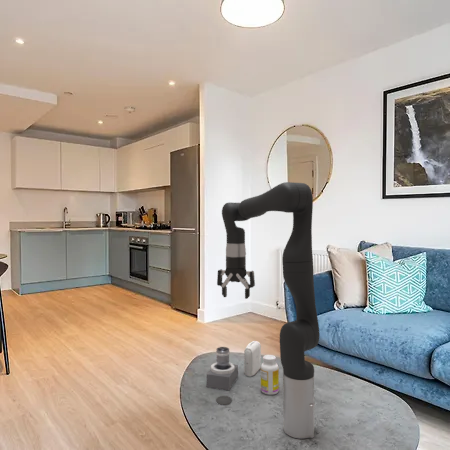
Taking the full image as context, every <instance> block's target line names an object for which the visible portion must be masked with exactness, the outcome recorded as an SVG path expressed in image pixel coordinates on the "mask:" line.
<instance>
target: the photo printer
mask: <svg viewBox="0 0 450 450" xmlns="http://www.w3.org/2000/svg"><path fill="white" fill-rule="evenodd" d="M261 347H262V346H261V343H260V342H259V341H257V340H253V341H251V342H249V343H248V344H247V345H246V347H245V349H244V354H243V355H244V356H243V358H244V360H243V361H244V362H243V365H244V367H243V368H244V371H243V373H244V375H245V377H246V376H247V377H253V376H255V375H256V373H258V372H259V371H260V370H261V364H262V361H261V359H262V357H261V356H262V355H261V354H262V353H261Z"/></svg>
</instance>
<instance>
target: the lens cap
mask: <svg viewBox="0 0 450 450" xmlns="http://www.w3.org/2000/svg"><path fill="white" fill-rule="evenodd" d="M232 401H233V399H232V397H230V396H227V395H221V396H218V397H216V398H215V403H216V402H217V403H218V404H217V403H216V404H217V405H219V404H220V406H228V405H230V404H232V403H233V402H232Z"/></svg>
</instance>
